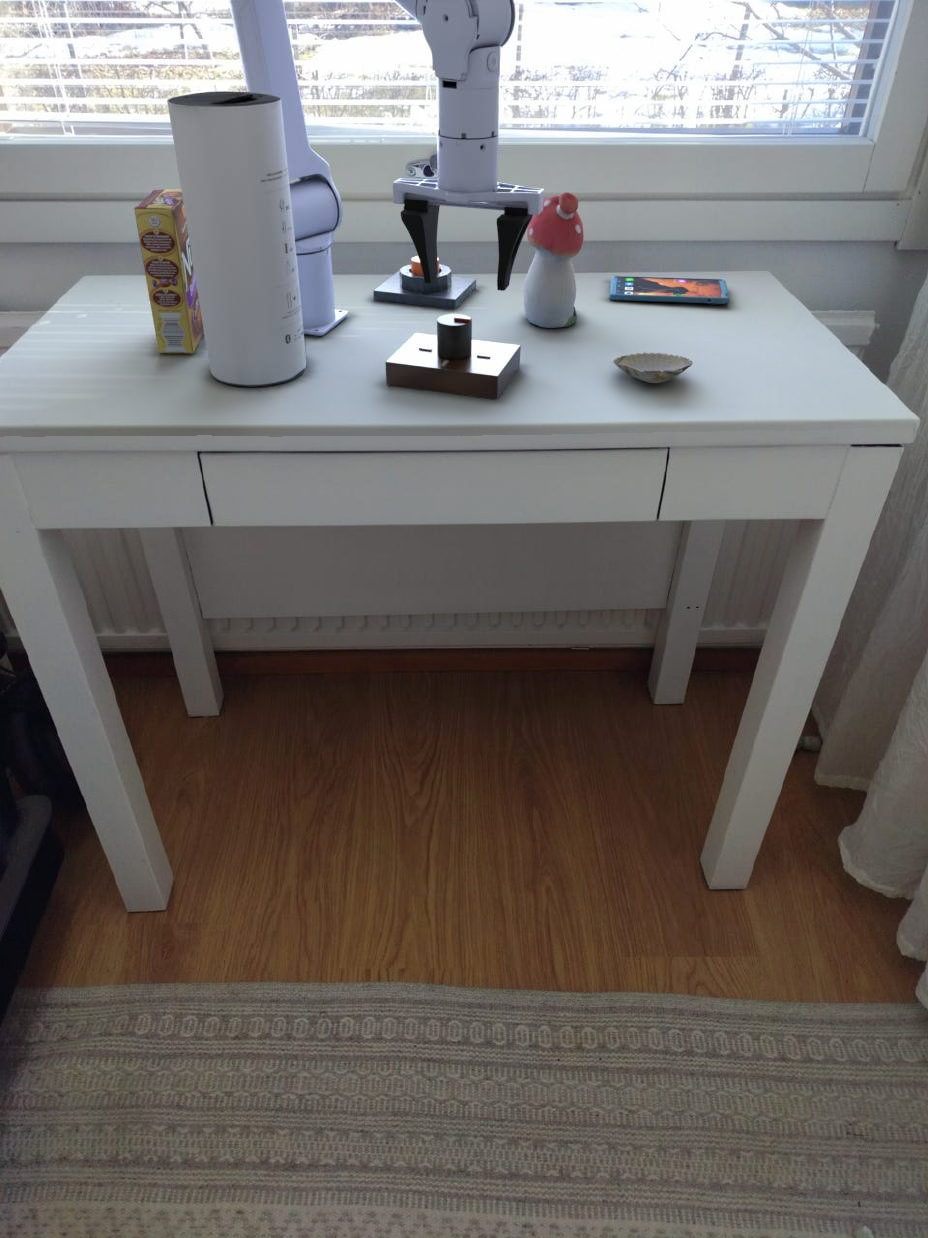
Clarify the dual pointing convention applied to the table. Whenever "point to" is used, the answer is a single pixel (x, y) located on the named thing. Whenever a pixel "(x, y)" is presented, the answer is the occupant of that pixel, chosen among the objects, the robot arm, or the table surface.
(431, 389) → the dial panel
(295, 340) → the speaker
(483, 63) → the robot arm
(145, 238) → the candy box
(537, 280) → the decorative ornament
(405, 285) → the switch base
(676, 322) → the table surface
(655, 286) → the smartphone
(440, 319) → the dial
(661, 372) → the seashell
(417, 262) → the switch
